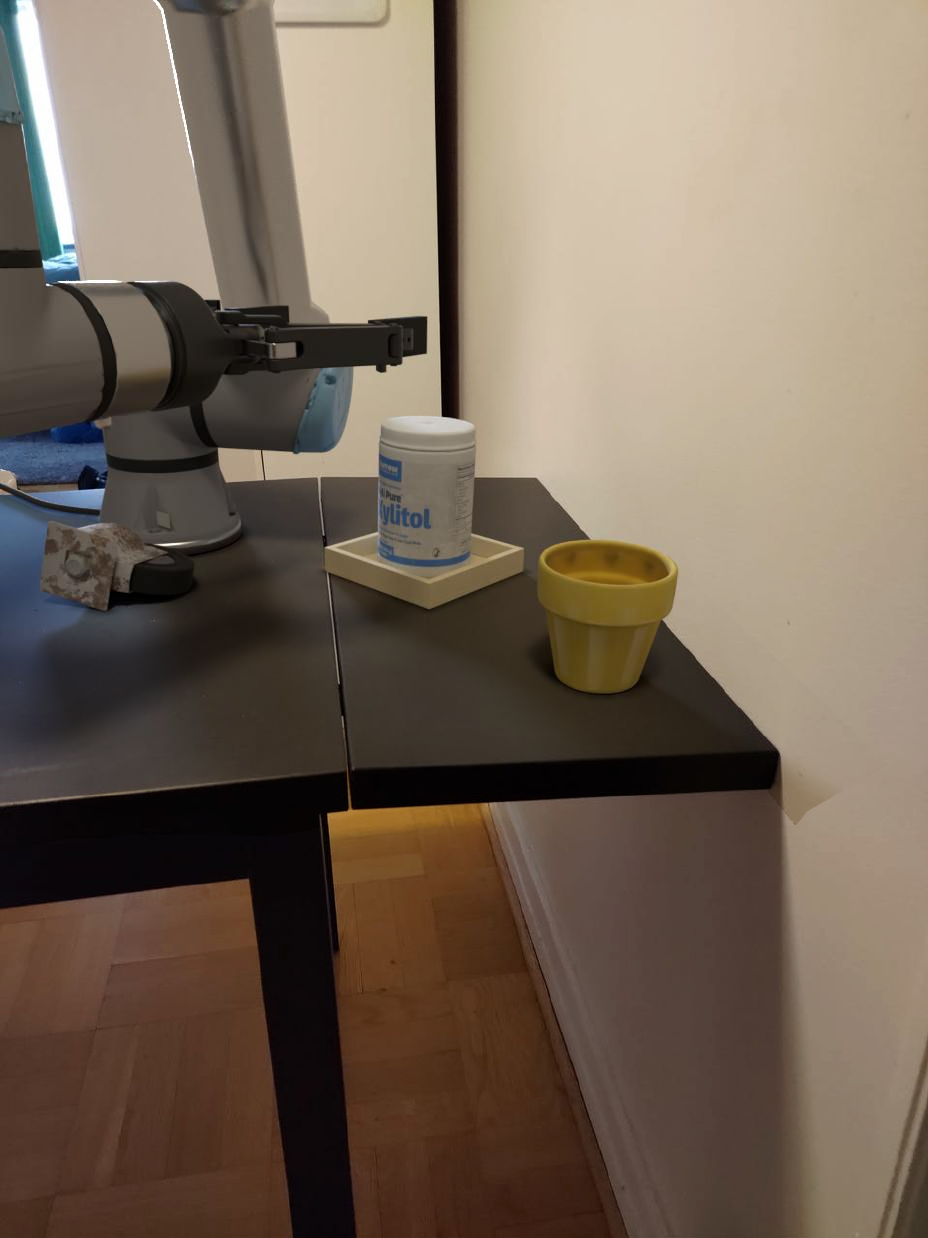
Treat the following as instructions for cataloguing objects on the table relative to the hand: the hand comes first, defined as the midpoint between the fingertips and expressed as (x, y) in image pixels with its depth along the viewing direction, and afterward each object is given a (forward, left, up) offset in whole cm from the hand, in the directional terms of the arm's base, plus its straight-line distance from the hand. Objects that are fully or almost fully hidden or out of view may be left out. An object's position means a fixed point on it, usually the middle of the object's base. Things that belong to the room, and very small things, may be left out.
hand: (351, 328), depth 68 cm
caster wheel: (-19, -11, -25) cm, 34 cm away
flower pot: (+23, +5, -25) cm, 34 cm away
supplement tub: (-3, +13, -24) cm, 28 cm away
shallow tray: (-3, +13, -25) cm, 28 cm away
